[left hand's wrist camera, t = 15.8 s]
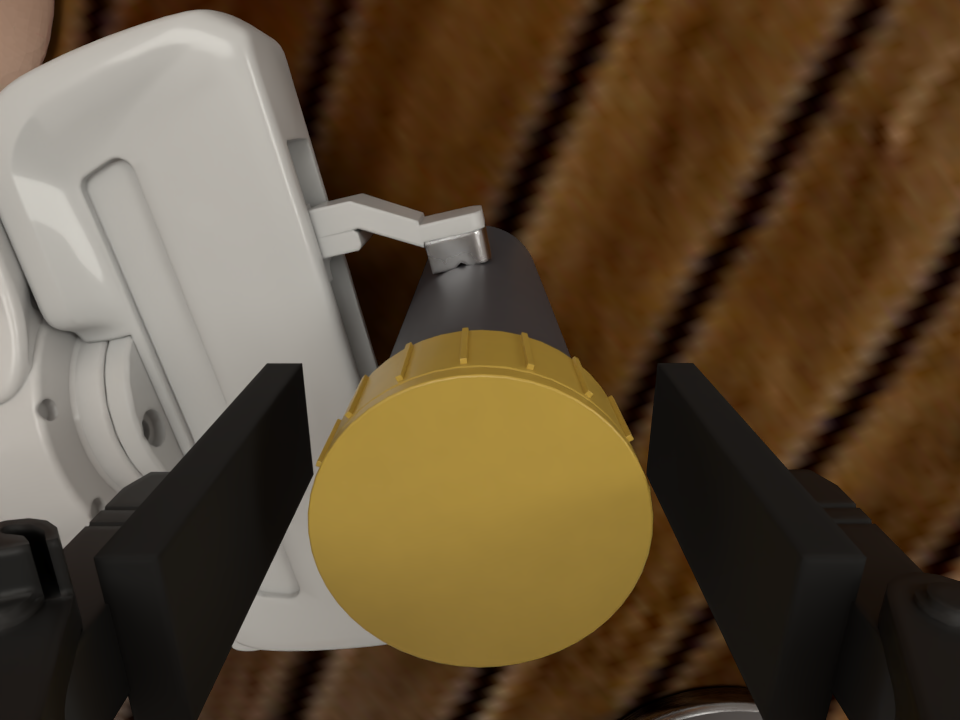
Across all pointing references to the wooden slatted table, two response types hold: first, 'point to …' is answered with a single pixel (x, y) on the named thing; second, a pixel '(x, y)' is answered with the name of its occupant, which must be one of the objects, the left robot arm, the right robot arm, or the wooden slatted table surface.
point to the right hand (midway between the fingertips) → (507, 325)
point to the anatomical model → (23, 36)
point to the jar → (483, 298)
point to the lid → (480, 502)
